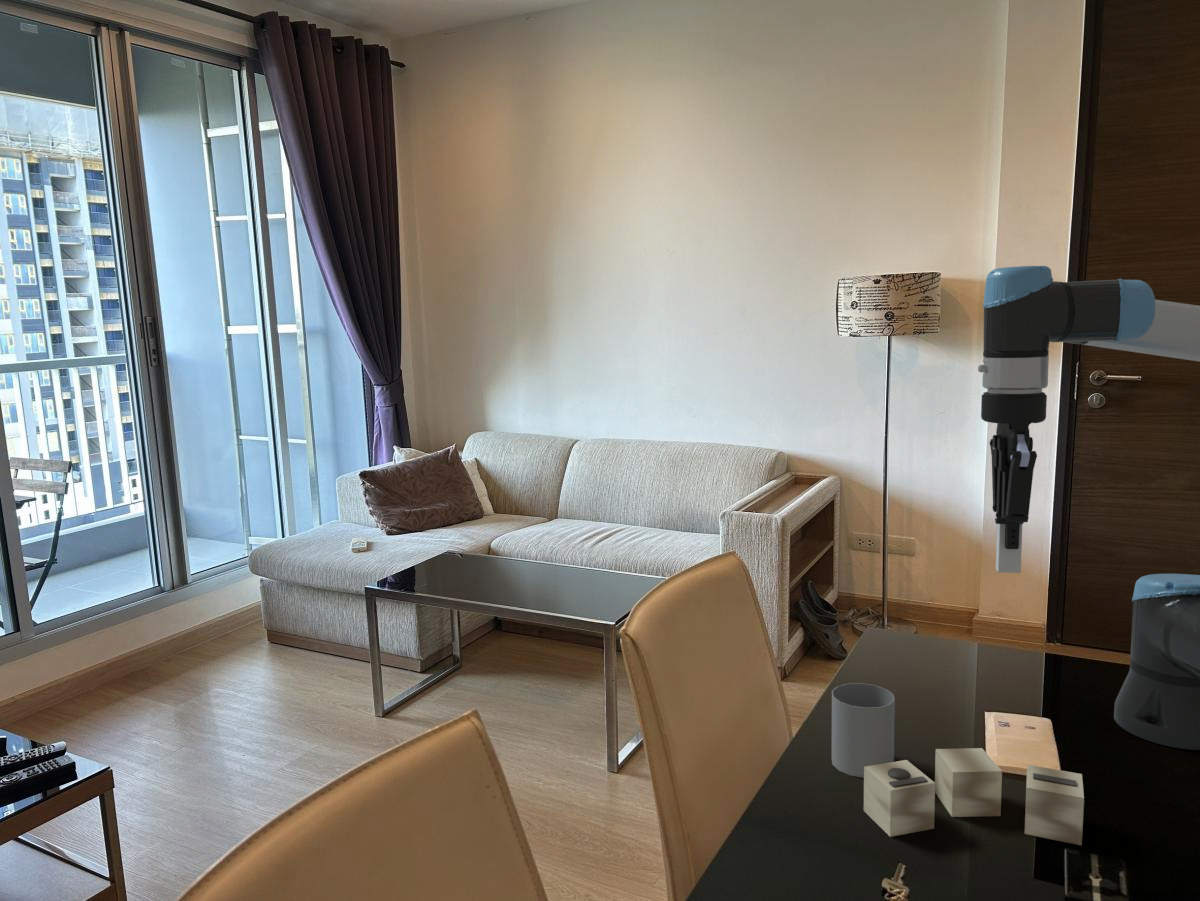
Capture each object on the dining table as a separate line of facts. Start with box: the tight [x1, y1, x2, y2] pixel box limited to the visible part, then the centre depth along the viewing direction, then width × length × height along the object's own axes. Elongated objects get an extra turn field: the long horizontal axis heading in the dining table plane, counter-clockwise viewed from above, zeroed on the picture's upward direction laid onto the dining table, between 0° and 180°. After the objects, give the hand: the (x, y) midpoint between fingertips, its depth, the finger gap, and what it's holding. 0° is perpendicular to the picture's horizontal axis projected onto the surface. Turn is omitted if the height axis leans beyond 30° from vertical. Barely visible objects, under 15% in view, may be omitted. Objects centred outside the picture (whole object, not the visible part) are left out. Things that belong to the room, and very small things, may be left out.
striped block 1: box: [863, 759, 936, 838], centre depth 109 cm, size 6×6×6 cm
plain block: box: [934, 747, 1003, 818], centre depth 112 cm, size 6×6×6 cm
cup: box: [831, 682, 896, 779], centre depth 123 cm, size 8×8×10 cm
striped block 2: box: [1024, 764, 1085, 846], centre depth 106 cm, size 6×6×6 cm
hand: (1008, 570), depth 115 cm, fingers closed
